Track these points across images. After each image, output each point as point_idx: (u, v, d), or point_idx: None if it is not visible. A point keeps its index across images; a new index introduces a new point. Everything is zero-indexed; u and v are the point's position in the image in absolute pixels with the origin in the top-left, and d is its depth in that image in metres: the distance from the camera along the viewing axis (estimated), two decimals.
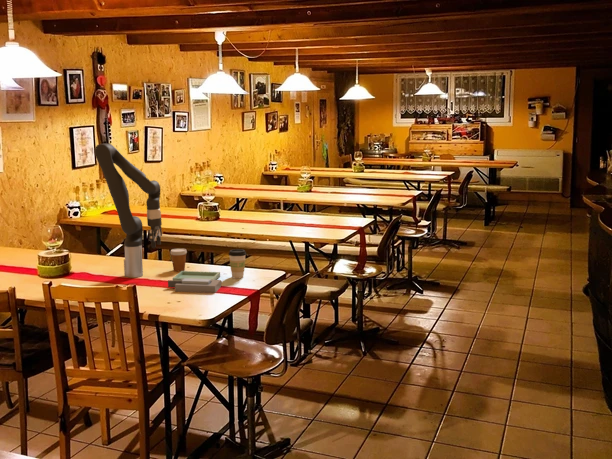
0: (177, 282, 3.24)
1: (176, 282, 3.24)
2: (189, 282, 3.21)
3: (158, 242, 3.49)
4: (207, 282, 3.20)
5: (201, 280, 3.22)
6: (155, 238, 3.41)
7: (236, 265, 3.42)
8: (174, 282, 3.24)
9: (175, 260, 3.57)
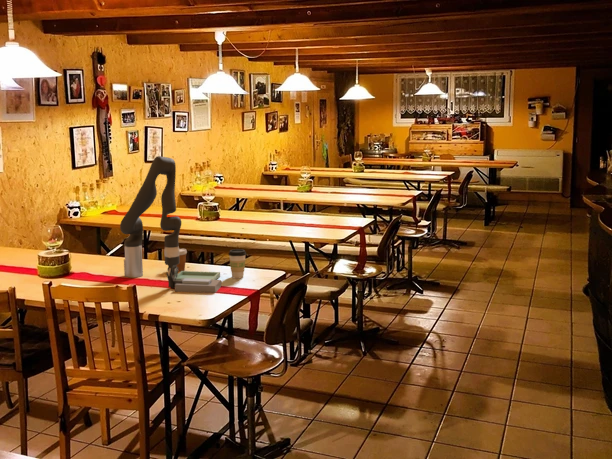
0: (177, 282, 3.24)
1: (176, 282, 3.24)
2: (189, 282, 3.21)
3: None
4: (207, 282, 3.20)
5: (201, 280, 3.22)
6: (174, 277, 3.23)
7: (236, 265, 3.42)
8: None
9: None
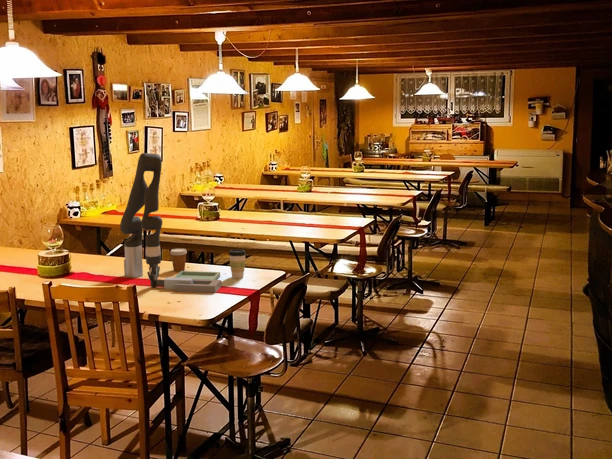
0: (159, 281, 3.25)
1: (158, 281, 3.25)
2: (171, 281, 3.22)
3: None
4: (189, 281, 3.22)
5: (183, 279, 3.24)
6: (155, 276, 3.25)
7: (236, 265, 3.42)
8: (156, 281, 3.25)
9: (175, 260, 3.57)
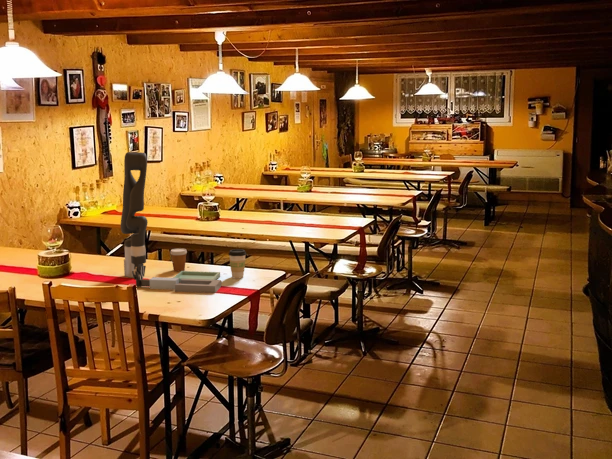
0: (145, 281, 3.25)
1: (144, 281, 3.26)
2: (157, 281, 3.23)
3: None
4: (174, 281, 3.22)
5: (169, 279, 3.24)
6: (140, 276, 3.25)
7: (236, 265, 3.42)
8: (142, 281, 3.26)
9: (175, 260, 3.57)
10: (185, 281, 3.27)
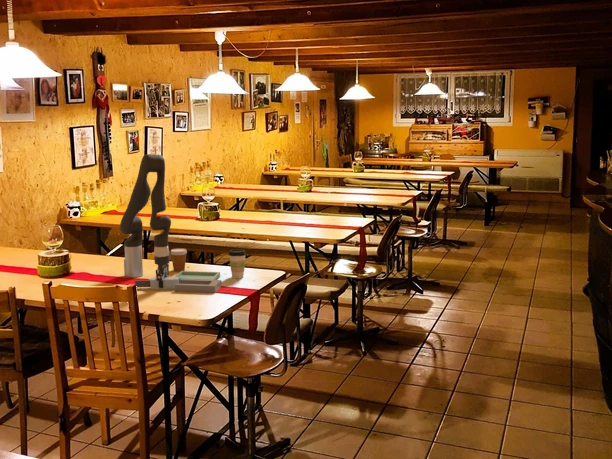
0: (145, 282, 3.23)
1: (144, 282, 3.23)
2: (158, 281, 3.22)
3: None
4: (176, 280, 3.23)
5: (170, 278, 3.24)
6: None
7: (236, 265, 3.42)
8: (141, 282, 3.23)
9: (175, 260, 3.57)
10: (185, 281, 3.27)
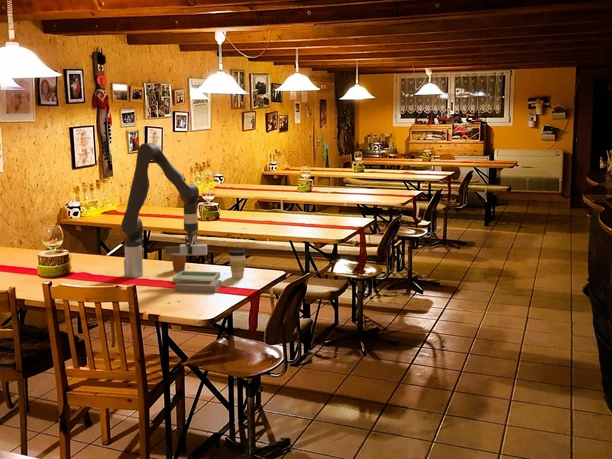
0: (174, 248, 3.35)
1: (173, 248, 3.35)
2: (187, 247, 3.33)
3: None
4: (205, 246, 3.34)
5: (198, 245, 3.35)
6: None
7: (236, 265, 3.42)
8: (171, 248, 3.35)
9: (175, 260, 3.57)
10: (185, 281, 3.27)
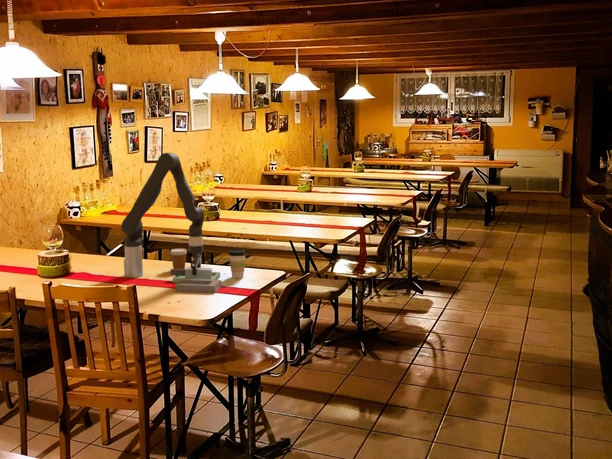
0: (180, 270, 3.40)
1: (179, 270, 3.40)
2: None
3: None
4: (210, 271, 3.39)
5: (203, 269, 3.41)
6: (196, 265, 3.37)
7: (236, 265, 3.42)
8: (177, 270, 3.40)
9: (175, 260, 3.57)
10: (185, 281, 3.27)
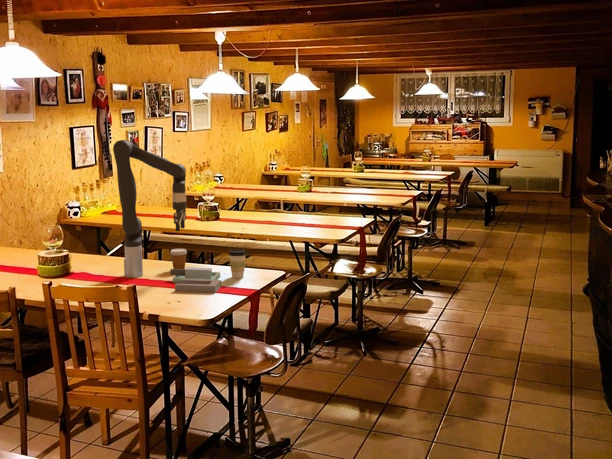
0: (180, 270, 3.40)
1: (179, 270, 3.40)
2: (192, 270, 3.38)
3: (182, 226, 3.50)
4: (210, 271, 3.39)
5: (203, 269, 3.41)
6: None
7: (236, 265, 3.42)
8: (177, 270, 3.40)
9: (175, 260, 3.57)
10: (185, 281, 3.27)
